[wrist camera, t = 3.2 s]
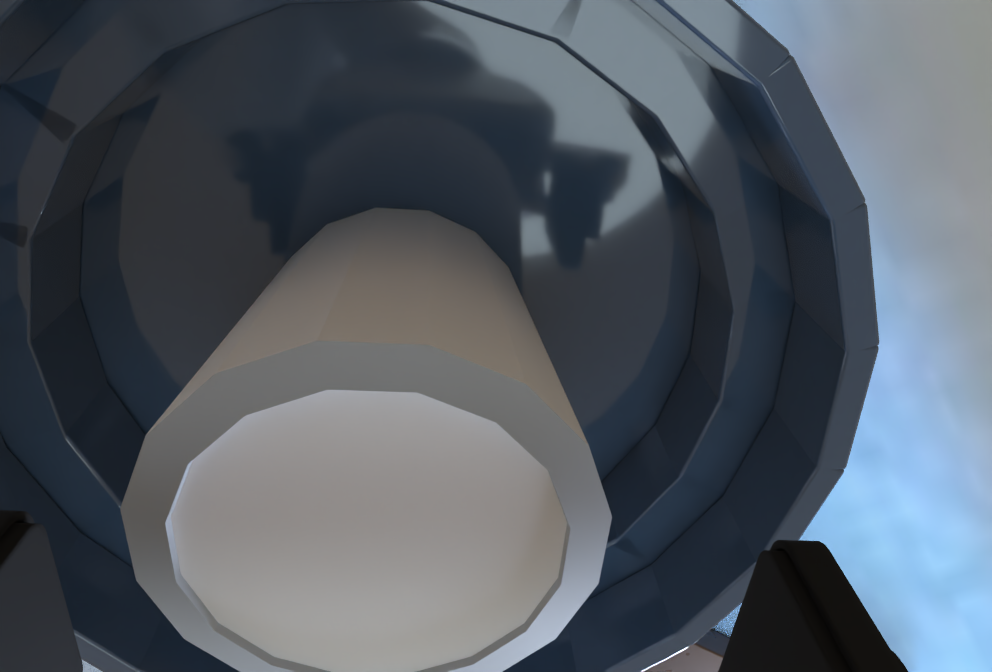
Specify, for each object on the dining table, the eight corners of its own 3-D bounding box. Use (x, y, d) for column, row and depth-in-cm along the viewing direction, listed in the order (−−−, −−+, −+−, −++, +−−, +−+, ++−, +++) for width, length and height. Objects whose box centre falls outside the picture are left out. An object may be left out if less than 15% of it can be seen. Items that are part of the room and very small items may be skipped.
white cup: (536, 155, 15) (603, 307, 8) (561, 427, 18) (621, 678, 12) (203, 200, 15) (27, 384, 8) (289, 464, 18) (207, 733, 12)
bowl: (-104, 413, 17) (-272, 556, 13) (208, -389, 11) (69, -589, 7) (493, 658, 22) (503, 810, 18) (926, 221, 16) (1083, 309, 12)
